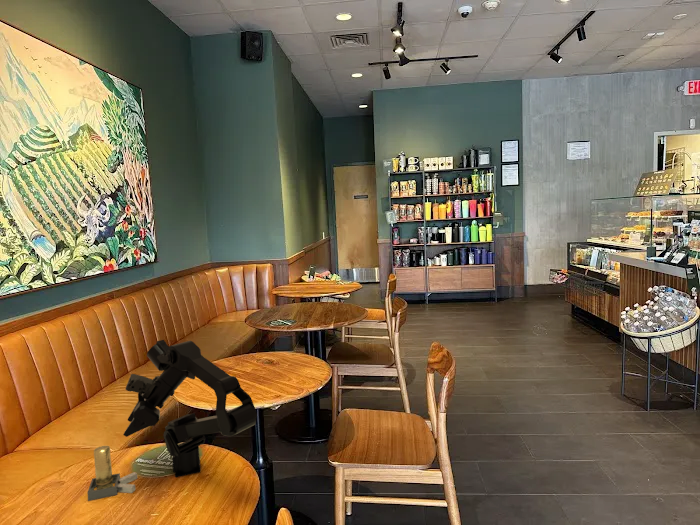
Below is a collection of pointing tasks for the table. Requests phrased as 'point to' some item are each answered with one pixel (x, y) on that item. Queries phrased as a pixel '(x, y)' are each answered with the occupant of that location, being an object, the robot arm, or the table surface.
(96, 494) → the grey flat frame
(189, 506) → the table surface
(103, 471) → the gold metal cylinder
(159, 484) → the table surface
